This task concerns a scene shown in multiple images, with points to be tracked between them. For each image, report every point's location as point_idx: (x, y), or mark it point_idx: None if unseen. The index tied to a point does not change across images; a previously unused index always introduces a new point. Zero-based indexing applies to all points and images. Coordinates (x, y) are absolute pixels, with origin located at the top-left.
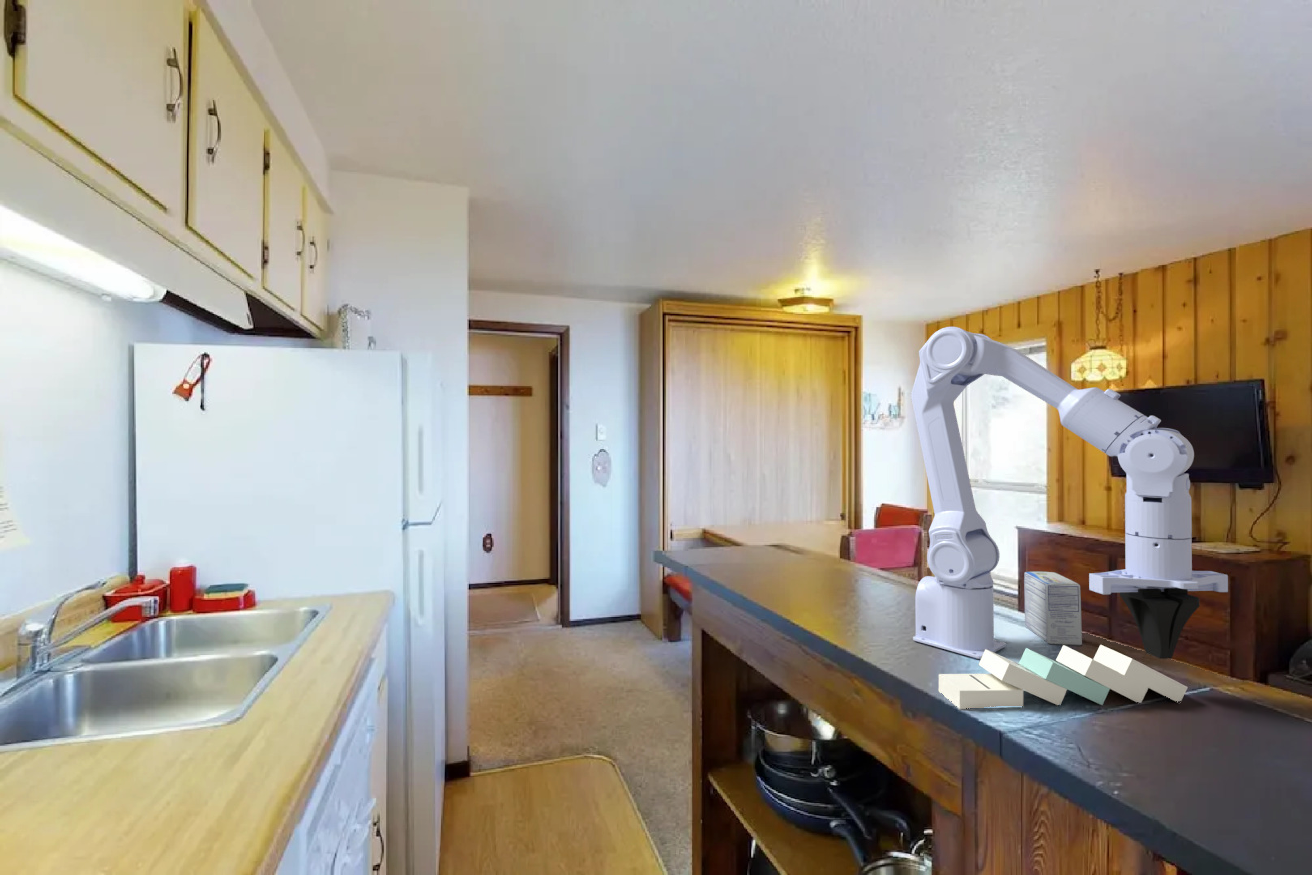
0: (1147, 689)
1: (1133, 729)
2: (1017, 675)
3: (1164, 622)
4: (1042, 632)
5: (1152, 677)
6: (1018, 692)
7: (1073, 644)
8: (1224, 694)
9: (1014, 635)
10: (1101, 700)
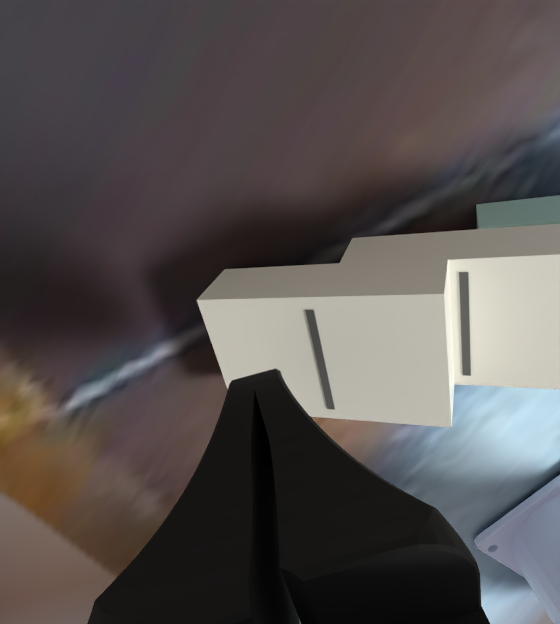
0: (341, 260)
1: (506, 20)
2: None
3: (319, 462)
4: None
5: (333, 282)
6: None
7: None
8: (44, 369)
9: None
10: (487, 207)
